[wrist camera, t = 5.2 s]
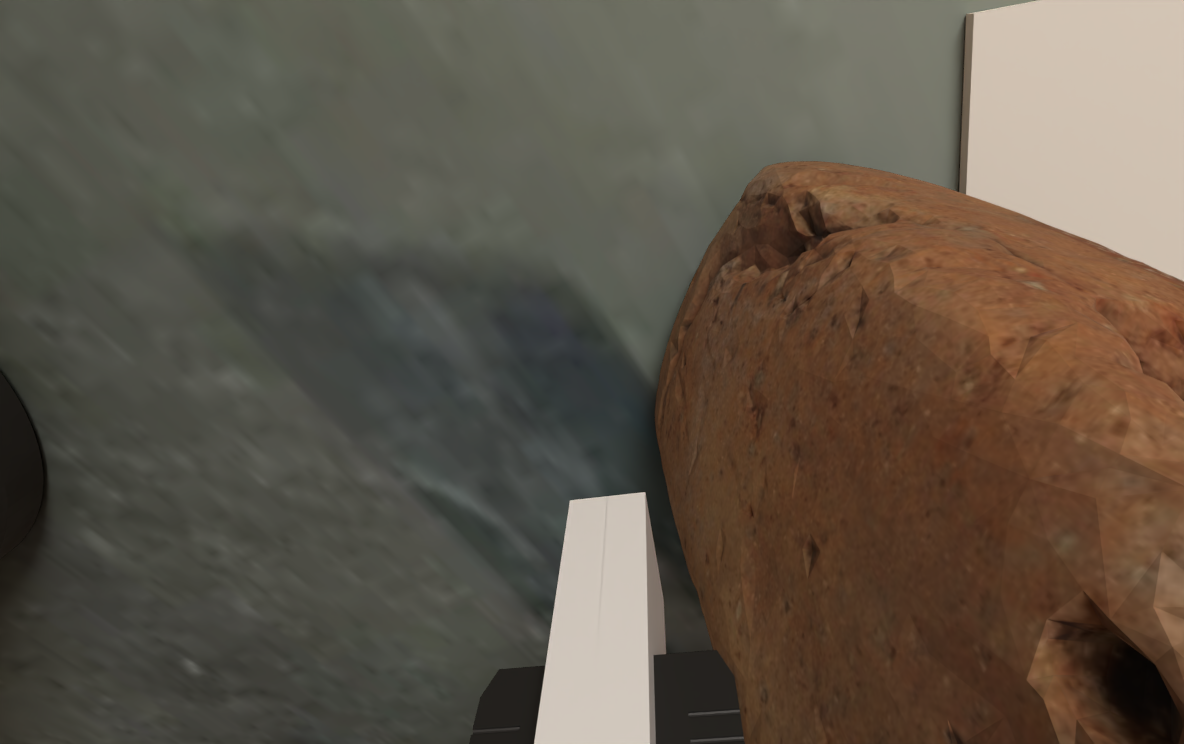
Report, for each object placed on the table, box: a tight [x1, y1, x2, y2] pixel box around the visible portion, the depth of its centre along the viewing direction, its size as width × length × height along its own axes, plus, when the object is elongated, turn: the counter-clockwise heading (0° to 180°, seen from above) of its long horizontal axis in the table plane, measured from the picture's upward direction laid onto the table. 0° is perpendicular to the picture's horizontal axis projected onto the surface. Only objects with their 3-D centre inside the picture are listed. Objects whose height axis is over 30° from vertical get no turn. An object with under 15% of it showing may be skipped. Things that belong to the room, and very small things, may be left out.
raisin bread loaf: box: [655, 161, 1184, 744], centre depth 14 cm, size 11×8×20 cm
